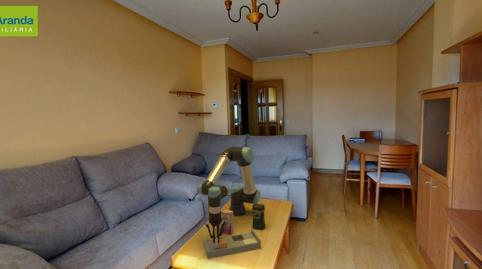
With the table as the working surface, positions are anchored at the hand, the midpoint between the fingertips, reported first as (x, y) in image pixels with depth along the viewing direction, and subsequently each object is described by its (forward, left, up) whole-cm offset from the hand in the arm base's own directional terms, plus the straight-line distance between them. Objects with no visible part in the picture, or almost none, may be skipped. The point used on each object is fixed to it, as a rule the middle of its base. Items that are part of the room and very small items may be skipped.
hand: (216, 247), depth 155 cm
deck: (-4, +11, -4) cm, 12 cm away
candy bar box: (-23, +12, -4) cm, 26 cm away
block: (-1, +4, -1) cm, 4 cm away
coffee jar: (-22, +38, -4) cm, 44 cm away
